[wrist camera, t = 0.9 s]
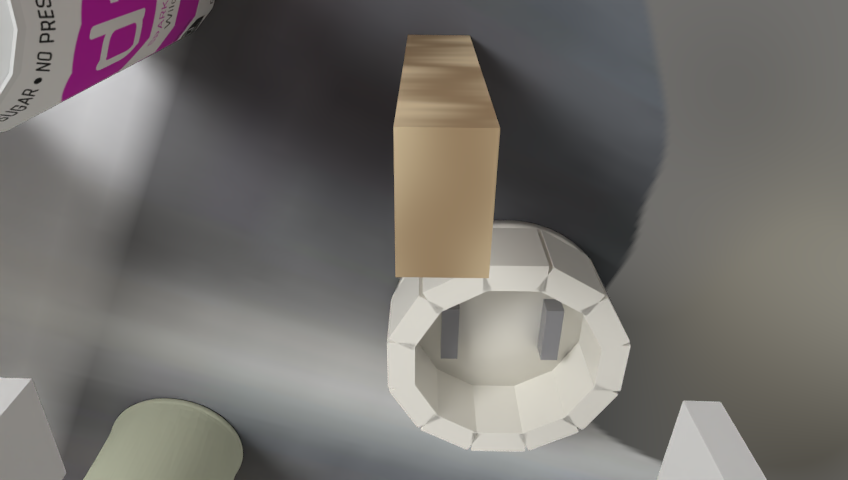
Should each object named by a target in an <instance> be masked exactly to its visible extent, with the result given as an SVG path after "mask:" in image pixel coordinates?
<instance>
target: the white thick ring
mask: <svg viewBox="0 0 848 480" xmlns="http://www.w3.org/2000/svg"><path fill="white" fill-rule="evenodd" d="M629 342H630V340H629V338H628V336H627V334H626V332H625V330H624V327H623V325H622V323H621V321H620V319H619V317H618V315H617V312H616V310H615V308H614V306H613V304H612V302H611V300H610V297H609V296H608V293H607V291H606V289H605V287H604V285H603V283H602V281H601V279H600V277H599V275H598V273H597V271H596V269H595V267H594V265H593V263H592V261H591V259H590V258H588V256H587V255H586V254H585V253H584V252H583V251H582V250H581V249H580V248H579V247H578V246H577V245H576V244H574V243H573V242H572V241H571V240H569V239H568V238H566V237H565V236H563V235H562V234H560V233H558V232H555V231H553V230H551V229H549V228H546V227H543V226H540V225H537V224H534V223H529V222H524V221H515V220H493V230H492V244H491V257H490V270H489V278H427V277H400V279H399V282H398V284H397V287H396V290H395V293H394V294H393V296H392V300H391V306H390V316H389V326H388V337H387V367H388V388H390V390H389V392H390V393H391V394H392V396H393V397H394V398H395V399H396V401H397V402H398V403H399V405H400V406H401V407H402V408H403V410H404V411H405V412H406V413H407V415H408V416H409V417H410V419H411V420H412V421H413V422H414V424H415V425H416V426H417V428H418V427H420V426H421V430H422V431H424V432H427V433H429V434H431V435H434V436H436V437H438V438H440V439H443V440H445V441H447V442H450V443H452V444H454V445H457V446H459V447H461V448H464V449H466V450H467V449H468V448H469V447H470V446H471V451H525V445H526V447H527V448H528V450H529V451H530V450H533V449H535V448H538V447H541V446H543V445H546V444H549V443H551V442H554V441H557V440H559V439H562V438H565V437H567V436H570V435H573V434H576V433H578V432H579V430H578V428H580V429H582V430H583V429H584V428H585V427H586V426H587V425H588V424H589V423H590V422H591V421H592V420H593V419H594V418H595V417H596V416H597V415H598V414H599V413H600V412H601V411H602V410H603V409H604V408H605V407H606V406H607V405H608V404H609V403H610V402H611V401H612V400H613V399H614V398H615V397H616V396H617V395H618V393H617V391H620V390H621V387H622V382H623V377H624V373H625V369H626V364H627V360H628V356H629V351H630V347H631V346H630V343H629Z"/></svg>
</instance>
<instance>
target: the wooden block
mask: <svg viewBox="0 0 848 480" xmlns="http://www.w3.org/2000/svg"><path fill="white" fill-rule="evenodd" d="M393 131H394V202H395V273H396V277H427V278H489V270H490V257H491V244H492V230H493V217H494V204H495V191H496V177H497V164H498V151H499V138H500V126H499V123H498V120H497V117H496V114H495V111H494V108H493V105H492V102H491V99H490V96H489V93H488V89H487V86H486V83H485V80H484V77H483V74H482V71H481V68H480V65H479V62H478V59H477V56H476V53H475V50H474V47H473V44H472V41H471V38H470V36H466V35H408V38H407V44H406V51H405V57H404V63H403V69H402V76H401V82H400V88H399V95H398V101H397V107H396V114H395V120H394V126H393Z"/></svg>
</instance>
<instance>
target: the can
mask: <svg viewBox="0 0 848 480" xmlns="http://www.w3.org/2000/svg"><path fill="white" fill-rule="evenodd" d="M242 459H243V448H242V444H241V441H240V438H239V436H238V434H237V433H236V431H235V430H234V429H233V427H232V426H231V425H230V424H229V423H228V422H227V421H226V420H225V419H223V418H222V417H221V416H220V415H218V414H217V413H215V412H213V411H212V410H210V409H208V408H206V407H204V406H201V405H199V404H196V403H193V402H189V401H185V400H179V399H170V398H160V399H151V400H146V401H143V402H139V403H137V404H135V405H133V406H131V407H129V408H127V409H126V410H125V411H123V412H122V413H121V414H120V415H119V417H118V418H117V419H116V421H115V423H114V425H113V427H112V431H111V433H110V435H109V437H108V439H107V440H106V442H105V444H104V446H103V447H102V449H101V451H100V453H99V454H98V456H97V458H96V459H95V461H94V463H93V464H92V466H91V468H90V469H89V471H88V473H87V474H86V476H85V478H84V479H83V480H234V477H235V475H236V473H237V472H238V470H239V468H240V466H241V463H242Z"/></svg>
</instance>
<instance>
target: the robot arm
mask: <svg viewBox="0 0 848 480" xmlns="http://www.w3.org/2000/svg"><path fill="white" fill-rule="evenodd" d="M65 474H66V470H65V467H64V465H63V462H62V459H61V456H60V454H59V451H58V448H57V445H56V443H55V440H54V437H53V435H52V432H51V429H50V426H49V424H48V421H47V418H46V416H45V413H44V410H43V407H42V405H41V402H40V399H39V396H38V394H37V391H36V388H35V386H34V383H33V380H32V379H31V378H1V377H0V480H62V479H63V478H64V476H65ZM657 480H767V479H766V478H765V476H764V474H763V472H762V471H761V469H760V468H759V466H758V464H757V462H756V461H755V459H754V457H753V456H752V454H751V452H750V451H749V449H748V447H747V445H746V444H745V442H744V440H743V439H742V437H741V435H740V434H739V432H738V430H737V429H736V427H735V425H734V424H733V422H732V420H731V418H730V417H729V415H728V413H727V412H726V410H725V408H724V407H723V405H722V403H721V402H708V401H683V403H682V406H681V409H680V412H679V415H678V418H677V421H676V424H675V427H674V430H673V433H672V436H671V439H670V442H669V445H668V448H667V451H666V454H665V457H664V460H663V463H662V466H661V469H660V472H659V475H658V478H657Z"/></svg>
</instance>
